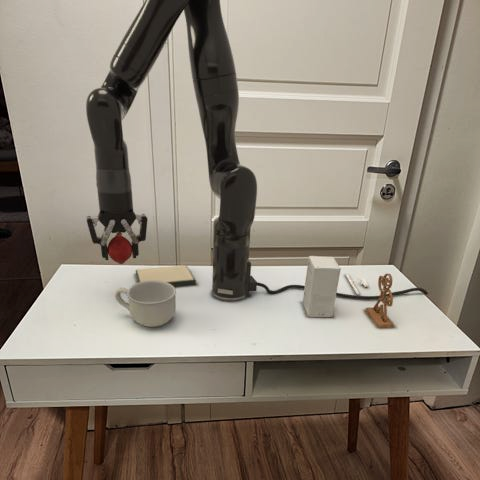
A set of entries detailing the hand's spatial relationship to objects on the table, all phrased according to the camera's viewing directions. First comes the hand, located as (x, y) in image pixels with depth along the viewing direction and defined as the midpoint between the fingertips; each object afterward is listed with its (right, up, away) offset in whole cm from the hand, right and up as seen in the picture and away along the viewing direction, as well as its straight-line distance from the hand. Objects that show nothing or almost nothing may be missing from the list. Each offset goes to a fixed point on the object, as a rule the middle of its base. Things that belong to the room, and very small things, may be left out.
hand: (120, 257), depth 105 cm
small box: (+49, -13, +4) cm, 51 cm away
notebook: (+8, -4, +16) cm, 19 cm away
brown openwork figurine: (+64, -15, +2) cm, 65 cm away
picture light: (+63, -5, +19) cm, 66 cm away
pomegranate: (0, -2, +1) cm, 2 cm away
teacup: (+7, -15, -4) cm, 17 cm away
